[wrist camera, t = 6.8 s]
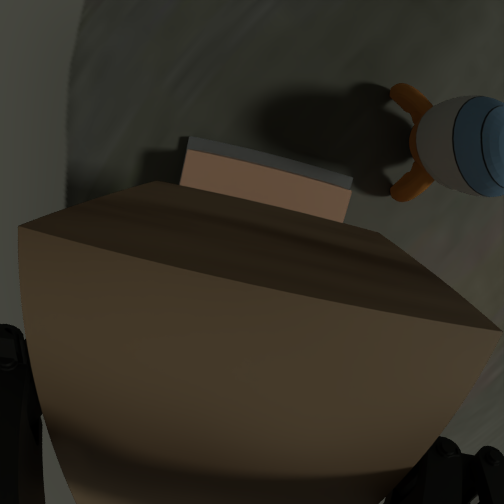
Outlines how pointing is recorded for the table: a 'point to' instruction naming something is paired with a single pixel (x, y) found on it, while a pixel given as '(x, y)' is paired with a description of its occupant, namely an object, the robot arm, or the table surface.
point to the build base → (265, 178)
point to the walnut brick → (237, 350)
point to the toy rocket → (452, 144)
